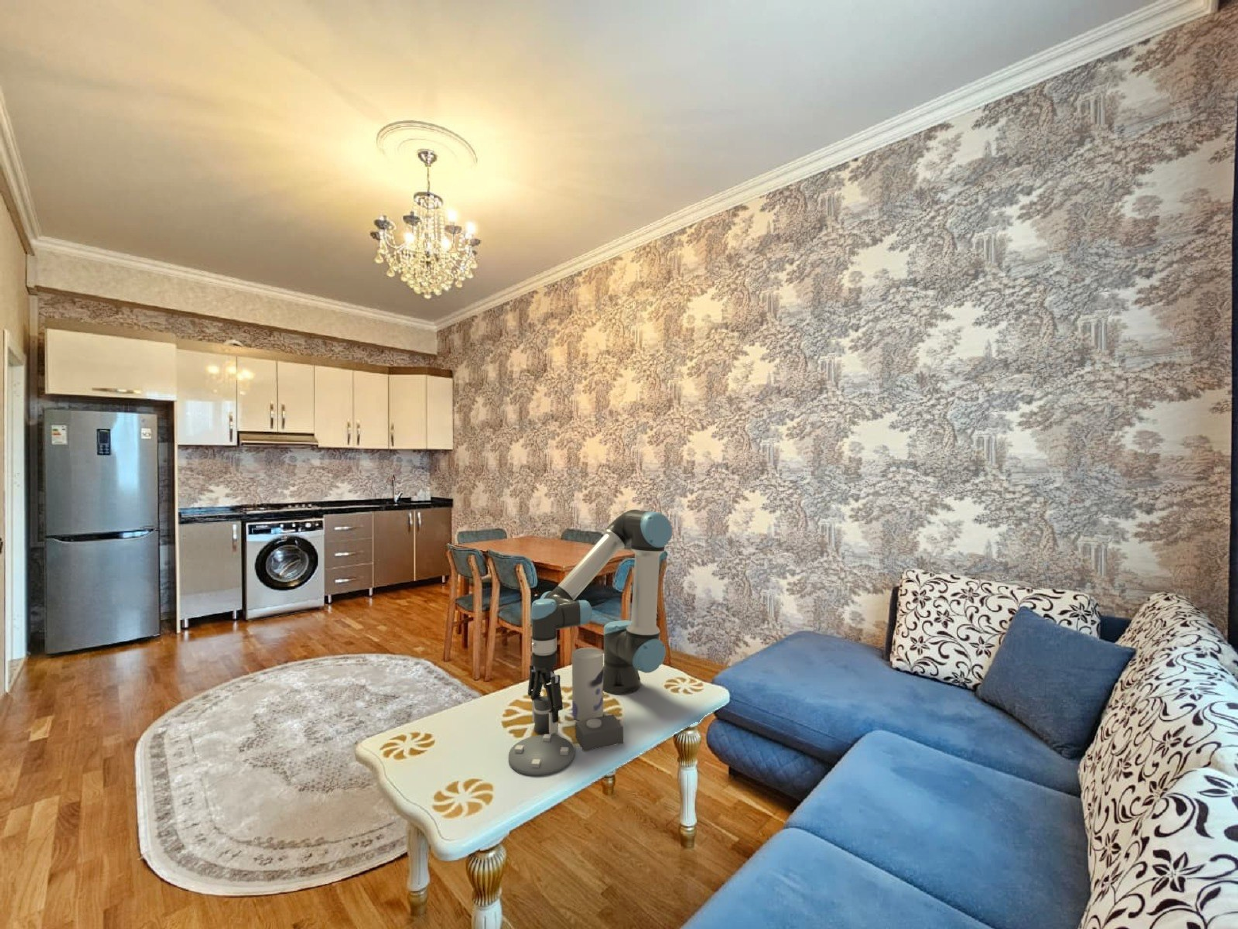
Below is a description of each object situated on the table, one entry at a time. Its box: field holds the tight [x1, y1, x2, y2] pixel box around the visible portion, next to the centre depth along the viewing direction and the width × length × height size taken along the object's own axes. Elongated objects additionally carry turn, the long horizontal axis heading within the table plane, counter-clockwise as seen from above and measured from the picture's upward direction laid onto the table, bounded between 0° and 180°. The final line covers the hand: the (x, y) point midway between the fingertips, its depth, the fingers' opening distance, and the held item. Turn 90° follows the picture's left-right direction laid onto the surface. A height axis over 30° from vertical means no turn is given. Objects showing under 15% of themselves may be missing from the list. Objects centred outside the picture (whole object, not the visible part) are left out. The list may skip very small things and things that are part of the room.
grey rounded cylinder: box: [534, 695, 550, 735], centre depth 155 cm, size 6×6×9 cm
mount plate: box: [508, 733, 575, 777], centre depth 140 cm, size 18×18×2 cm
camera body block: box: [574, 713, 624, 753], centre depth 149 cm, size 12×8×6 cm, turn 111°
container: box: [571, 647, 604, 721], centre depth 164 cm, size 10×10×20 cm
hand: (545, 726), depth 154 cm, fingers open, 9 cm apart
